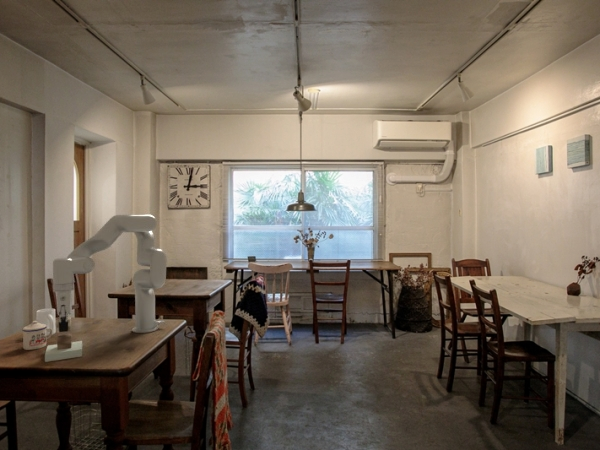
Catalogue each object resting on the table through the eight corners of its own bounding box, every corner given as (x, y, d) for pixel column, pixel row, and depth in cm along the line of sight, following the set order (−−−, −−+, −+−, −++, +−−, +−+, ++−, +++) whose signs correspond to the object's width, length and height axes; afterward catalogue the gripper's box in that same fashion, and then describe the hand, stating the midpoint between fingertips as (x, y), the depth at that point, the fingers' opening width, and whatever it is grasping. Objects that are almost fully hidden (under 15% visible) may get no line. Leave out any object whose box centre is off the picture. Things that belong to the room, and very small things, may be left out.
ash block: (70, 328, 168) (70, 316, 168) (70, 331, 163) (70, 319, 163) (57, 330, 165) (57, 318, 165) (56, 332, 161) (56, 320, 161)
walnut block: (71, 344, 168) (71, 333, 168) (71, 348, 164) (71, 336, 164) (58, 346, 166) (57, 334, 166) (57, 350, 161) (57, 338, 161)
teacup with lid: (29, 351, 168) (28, 325, 168) (18, 348, 173) (18, 322, 173) (57, 343, 179) (57, 318, 179) (47, 340, 183) (46, 316, 183)
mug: (43, 338, 187) (42, 314, 187) (33, 334, 194) (33, 310, 194) (61, 334, 193) (61, 310, 193) (51, 330, 200) (51, 307, 200)
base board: (82, 347, 173) (82, 340, 173) (81, 356, 162) (81, 349, 162) (47, 352, 167) (47, 345, 167) (44, 361, 156) (44, 354, 156)
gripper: (73, 289, 159) (73, 333, 159) (74, 283, 173) (74, 324, 174) (51, 291, 155) (51, 336, 155) (54, 285, 170) (55, 326, 170)
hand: (63, 329), depth 164 cm, fingers closed on ash block, 5 cm apart
